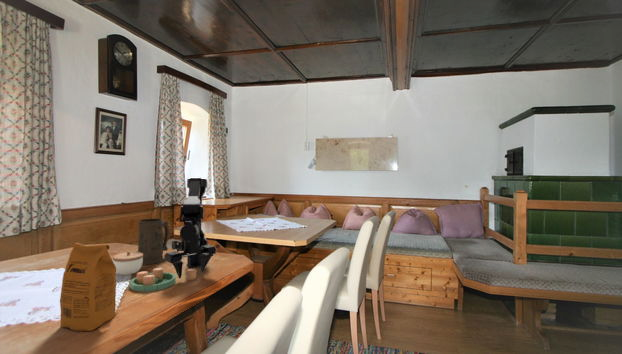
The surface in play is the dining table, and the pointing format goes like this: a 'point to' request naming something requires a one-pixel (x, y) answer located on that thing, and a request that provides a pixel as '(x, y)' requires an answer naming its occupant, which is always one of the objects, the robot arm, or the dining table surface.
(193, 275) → the bead
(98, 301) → the coffee package
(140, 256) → the lidded jar
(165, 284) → the ring tray
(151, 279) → the bead
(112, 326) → the dining table surface
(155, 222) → the beer stein
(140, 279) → the bead
